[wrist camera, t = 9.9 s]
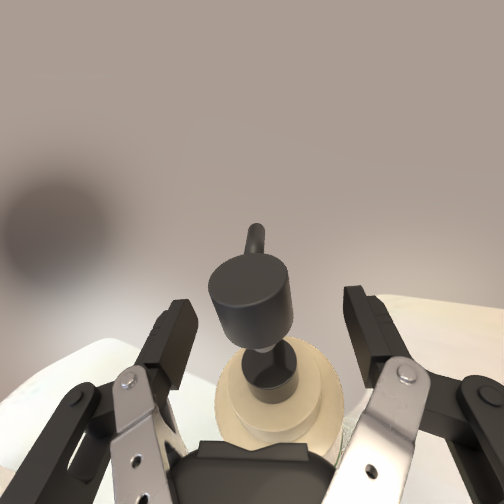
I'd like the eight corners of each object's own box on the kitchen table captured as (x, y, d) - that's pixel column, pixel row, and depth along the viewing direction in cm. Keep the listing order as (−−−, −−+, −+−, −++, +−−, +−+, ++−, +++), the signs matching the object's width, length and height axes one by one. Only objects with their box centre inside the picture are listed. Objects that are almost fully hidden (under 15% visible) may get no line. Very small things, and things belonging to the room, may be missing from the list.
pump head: (299, 372, 9) (290, 302, 7) (227, 374, 10) (198, 309, 8) (290, 272, 15) (283, 213, 12) (242, 276, 15) (227, 221, 13)
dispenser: (349, 531, 17) (371, 456, 8) (250, 523, 18) (175, 449, 9) (329, 415, 23) (329, 300, 14) (256, 415, 24) (213, 308, 15)
